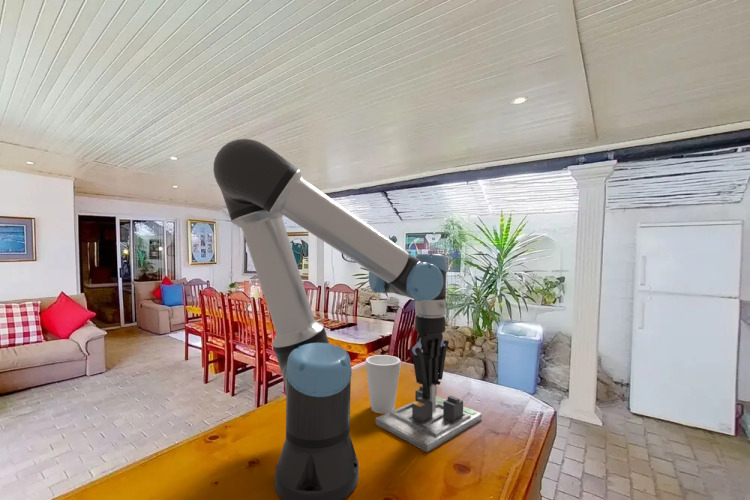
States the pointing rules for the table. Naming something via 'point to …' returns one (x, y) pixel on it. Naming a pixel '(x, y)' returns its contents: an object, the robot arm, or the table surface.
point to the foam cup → (382, 382)
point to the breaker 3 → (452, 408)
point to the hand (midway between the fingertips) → (429, 410)
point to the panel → (426, 425)
